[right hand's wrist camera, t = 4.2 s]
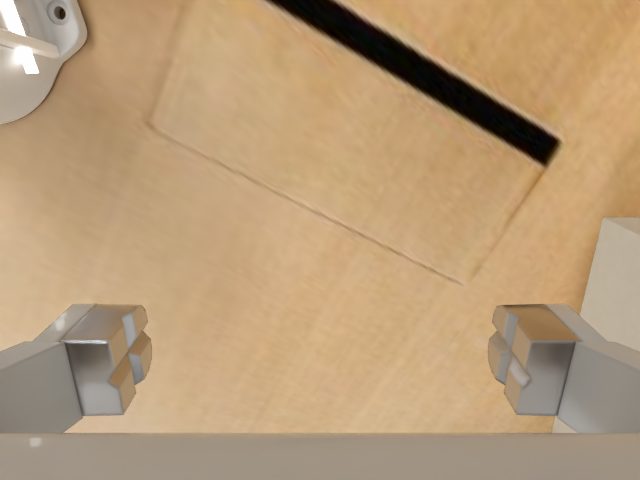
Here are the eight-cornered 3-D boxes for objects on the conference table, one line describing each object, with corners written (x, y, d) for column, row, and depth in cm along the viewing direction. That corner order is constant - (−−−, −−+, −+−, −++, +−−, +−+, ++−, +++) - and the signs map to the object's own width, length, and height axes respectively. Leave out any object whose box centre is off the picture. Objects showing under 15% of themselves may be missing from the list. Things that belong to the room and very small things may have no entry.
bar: (602, 217, 30) (700, 264, 22) (670, 217, 30) (791, 264, 22) (540, 474, 38) (596, 573, 30) (593, 474, 38) (662, 573, 30)
